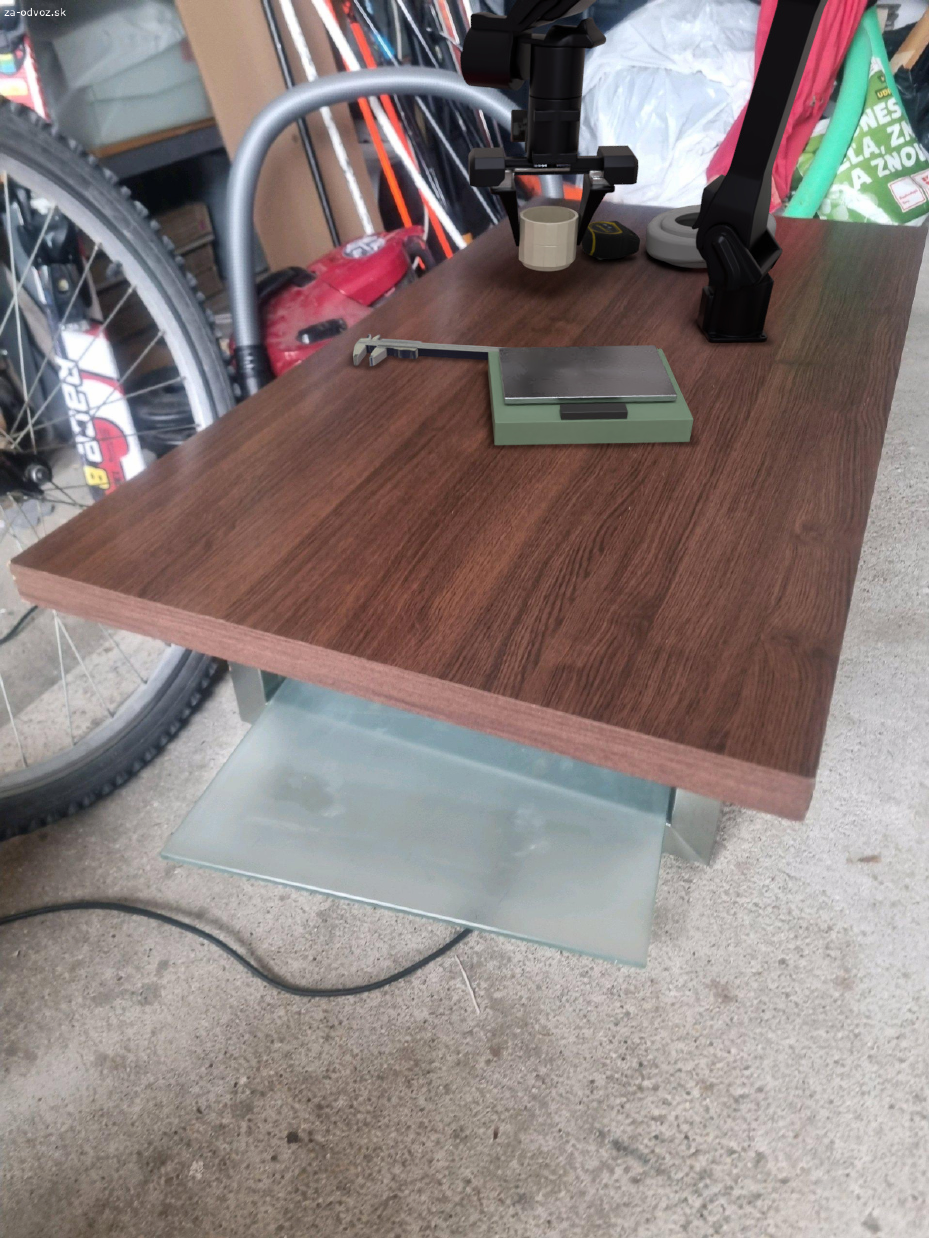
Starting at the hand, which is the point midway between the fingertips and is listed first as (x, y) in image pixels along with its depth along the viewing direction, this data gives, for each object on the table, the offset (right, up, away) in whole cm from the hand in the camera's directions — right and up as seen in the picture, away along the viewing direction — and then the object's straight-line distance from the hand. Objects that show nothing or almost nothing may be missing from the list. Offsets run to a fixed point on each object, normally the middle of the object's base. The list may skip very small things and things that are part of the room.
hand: (547, 245), depth 103 cm
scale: (+2, -24, -18) cm, 30 cm away
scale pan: (+2, -21, -19) cm, 28 cm away
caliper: (-12, -17, -11) cm, 24 cm away
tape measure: (+10, +5, +15) cm, 18 cm away
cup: (0, -1, +1) cm, 2 cm away
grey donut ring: (+23, +4, +13) cm, 27 cm away
